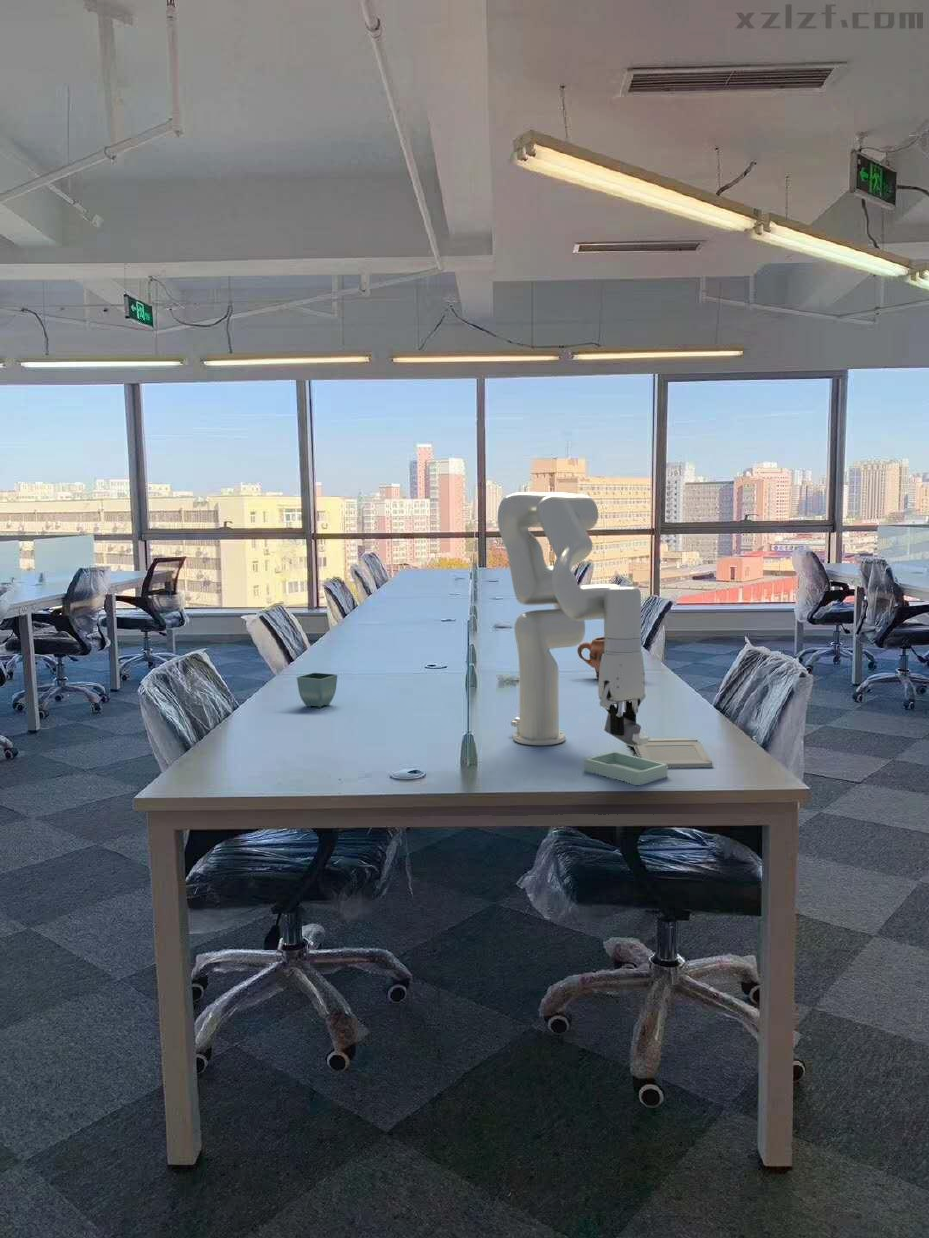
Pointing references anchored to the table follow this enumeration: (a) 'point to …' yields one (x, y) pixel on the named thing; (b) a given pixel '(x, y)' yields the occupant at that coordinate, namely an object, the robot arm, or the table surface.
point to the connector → (629, 732)
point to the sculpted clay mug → (593, 653)
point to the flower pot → (317, 688)
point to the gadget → (674, 752)
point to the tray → (626, 768)
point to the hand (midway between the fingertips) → (623, 732)
